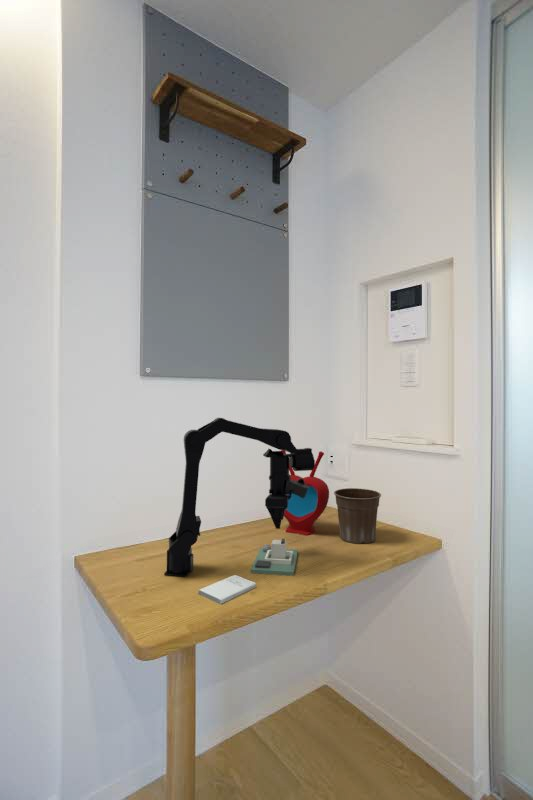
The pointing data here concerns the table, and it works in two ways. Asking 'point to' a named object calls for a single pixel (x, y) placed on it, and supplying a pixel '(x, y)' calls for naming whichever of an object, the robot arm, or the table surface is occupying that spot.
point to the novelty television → (307, 502)
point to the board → (274, 562)
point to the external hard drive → (227, 589)
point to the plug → (278, 549)
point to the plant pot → (357, 514)
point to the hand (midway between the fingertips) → (279, 524)
